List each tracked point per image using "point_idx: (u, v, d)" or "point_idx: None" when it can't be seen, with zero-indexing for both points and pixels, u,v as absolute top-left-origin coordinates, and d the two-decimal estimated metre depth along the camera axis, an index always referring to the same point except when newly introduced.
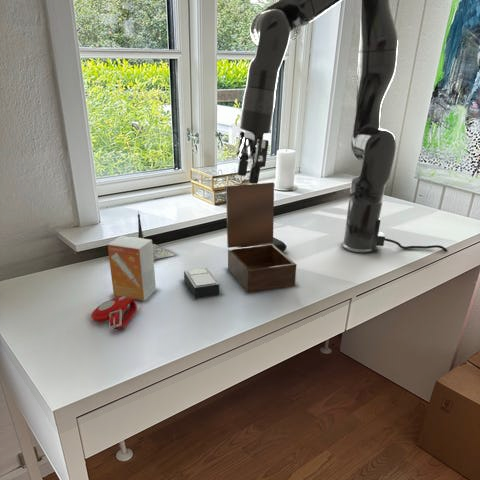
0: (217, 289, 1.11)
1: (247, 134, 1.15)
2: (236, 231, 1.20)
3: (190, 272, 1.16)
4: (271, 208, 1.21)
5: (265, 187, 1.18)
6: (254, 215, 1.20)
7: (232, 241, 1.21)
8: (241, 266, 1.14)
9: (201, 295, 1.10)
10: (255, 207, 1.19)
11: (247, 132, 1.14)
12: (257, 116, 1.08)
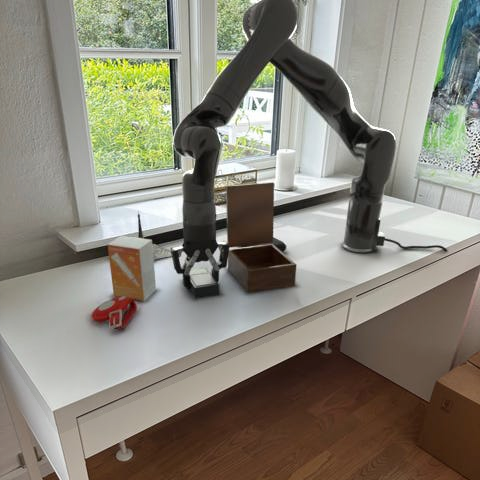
0: (217, 289, 1.11)
1: (195, 245, 1.08)
2: (236, 231, 1.20)
3: (190, 272, 1.16)
4: (271, 208, 1.21)
5: (265, 187, 1.18)
6: (254, 215, 1.20)
7: (232, 241, 1.21)
8: (241, 266, 1.14)
9: (201, 295, 1.10)
10: (255, 207, 1.19)
11: (194, 244, 1.08)
12: (215, 224, 1.07)
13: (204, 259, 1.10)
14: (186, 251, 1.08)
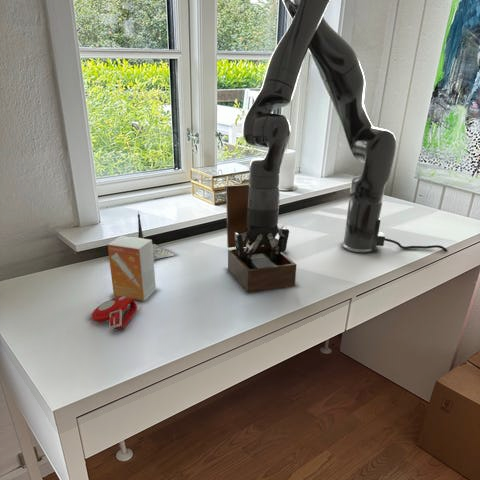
0: None
1: (258, 230, 1.13)
2: (236, 231, 1.20)
3: None
4: None
5: None
6: None
7: (232, 241, 1.21)
8: (241, 266, 1.14)
9: None
10: None
11: (257, 228, 1.12)
12: (278, 209, 1.12)
13: (265, 243, 1.15)
14: (249, 235, 1.13)
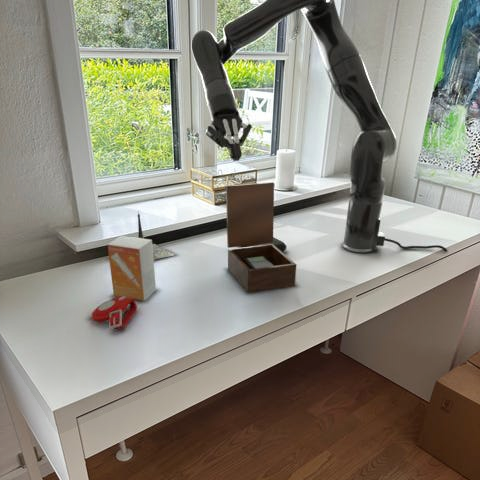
0: None
1: (222, 118, 1.23)
2: (236, 231, 1.20)
3: (250, 259, 1.21)
4: (271, 208, 1.21)
5: (265, 187, 1.18)
6: (254, 215, 1.20)
7: (232, 241, 1.21)
8: (241, 266, 1.14)
9: None
10: (255, 207, 1.19)
11: (221, 117, 1.23)
12: None
13: None
14: (216, 123, 1.22)
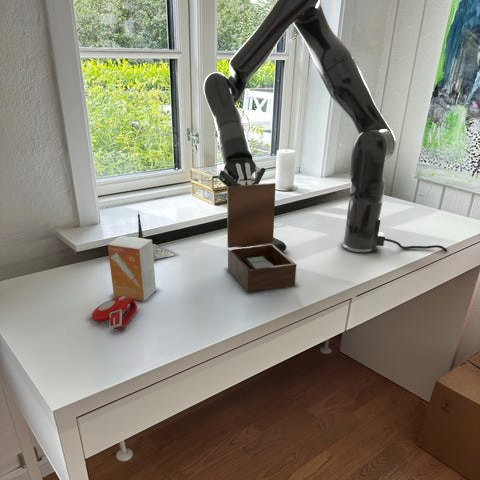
0: None
1: (235, 162, 1.20)
2: (236, 232, 1.20)
3: (250, 259, 1.21)
4: (272, 209, 1.21)
5: (266, 188, 1.17)
6: (255, 216, 1.20)
7: (232, 241, 1.21)
8: (241, 266, 1.14)
9: None
10: (256, 208, 1.19)
11: (234, 161, 1.20)
12: None
13: None
14: (229, 167, 1.19)
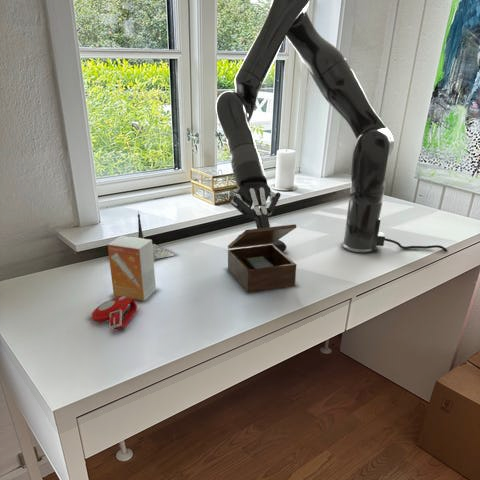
0: None
1: (249, 187, 1.14)
2: (240, 244, 1.18)
3: (250, 259, 1.21)
4: (283, 235, 1.17)
5: (285, 229, 1.11)
6: (264, 238, 1.16)
7: (234, 247, 1.20)
8: (241, 266, 1.14)
9: None
10: (268, 236, 1.15)
11: (247, 185, 1.14)
12: None
13: None
14: (243, 192, 1.13)
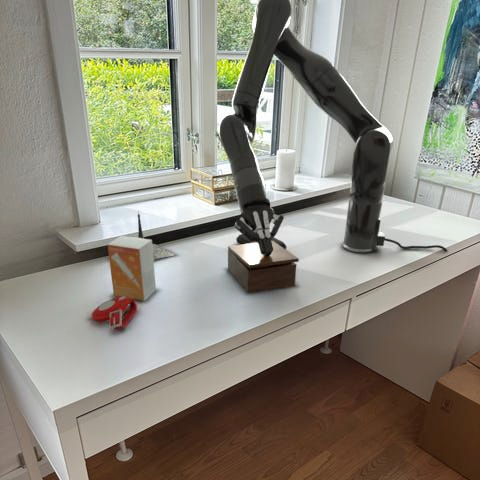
0: None
1: (252, 210, 1.14)
2: None
3: None
4: None
5: None
6: None
7: None
8: (241, 266, 1.14)
9: None
10: None
11: (251, 208, 1.14)
12: None
13: None
14: (246, 216, 1.13)
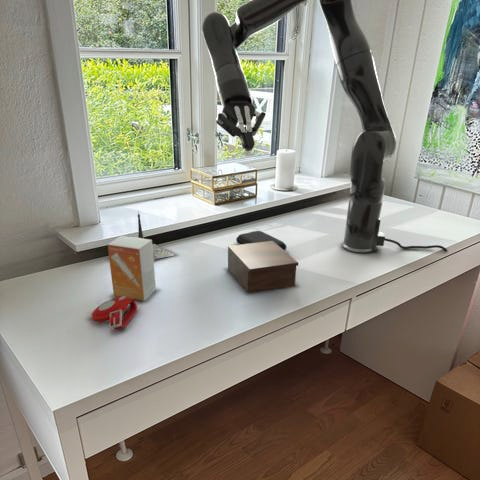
0: None
1: (233, 105, 1.15)
2: None
3: None
4: None
5: None
6: None
7: None
8: (241, 266, 1.14)
9: None
10: None
11: (232, 104, 1.15)
12: None
13: None
14: (228, 110, 1.14)
